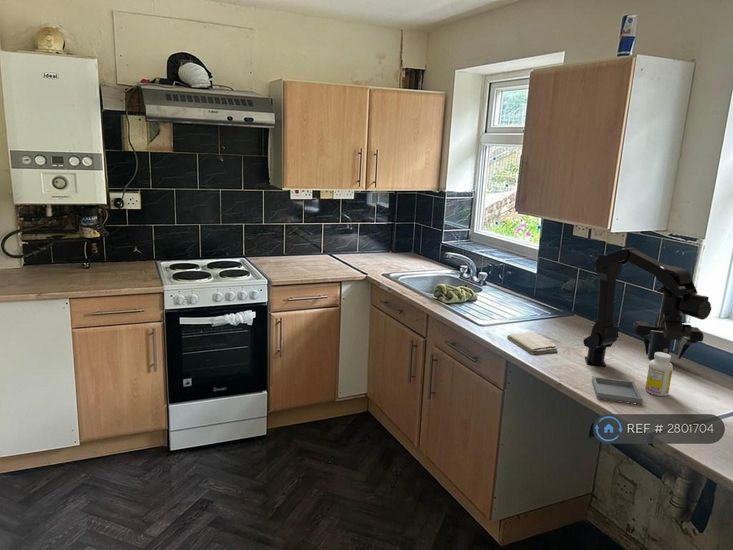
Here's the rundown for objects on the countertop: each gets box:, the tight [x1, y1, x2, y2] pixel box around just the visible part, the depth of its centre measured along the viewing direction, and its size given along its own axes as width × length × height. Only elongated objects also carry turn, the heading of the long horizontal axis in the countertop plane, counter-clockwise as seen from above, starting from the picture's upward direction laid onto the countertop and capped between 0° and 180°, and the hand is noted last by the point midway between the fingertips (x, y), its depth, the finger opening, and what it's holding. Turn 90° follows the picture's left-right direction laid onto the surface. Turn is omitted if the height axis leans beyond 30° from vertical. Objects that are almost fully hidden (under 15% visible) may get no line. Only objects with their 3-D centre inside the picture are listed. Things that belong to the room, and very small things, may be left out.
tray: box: [591, 375, 643, 405], centre depth 173 cm, size 13×13×2 cm
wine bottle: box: [647, 309, 673, 361], centre depth 197 cm, size 6×6×30 cm
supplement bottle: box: [645, 352, 674, 397], centre depth 173 cm, size 7×7×13 cm
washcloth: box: [506, 331, 558, 355], centre depth 211 cm, size 12×18×3 cm, turn 20°
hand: (662, 356), depth 172 cm, fingers open, 9 cm apart
